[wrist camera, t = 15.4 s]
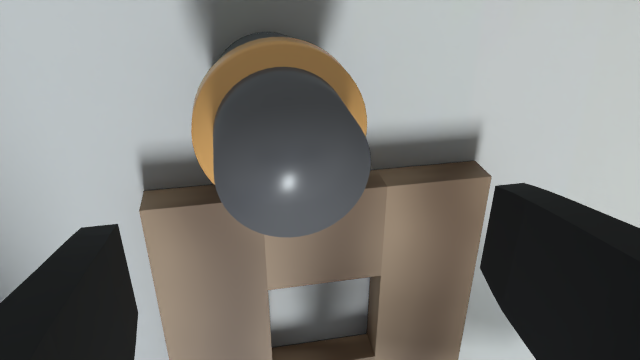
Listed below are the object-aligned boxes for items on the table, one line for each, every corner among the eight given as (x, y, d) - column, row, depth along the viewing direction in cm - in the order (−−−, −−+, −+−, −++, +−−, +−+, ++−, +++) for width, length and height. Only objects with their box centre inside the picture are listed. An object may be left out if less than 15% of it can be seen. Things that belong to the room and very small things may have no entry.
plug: (206, 157, 20) (205, 268, 14) (184, 20, 17) (170, 81, 11) (336, 142, 20) (390, 241, 14) (333, 9, 18) (396, 60, 12)
